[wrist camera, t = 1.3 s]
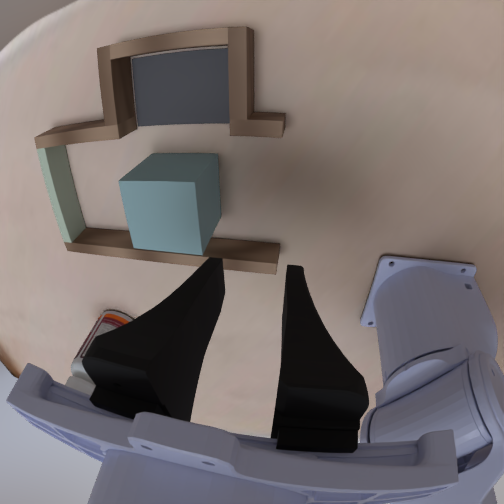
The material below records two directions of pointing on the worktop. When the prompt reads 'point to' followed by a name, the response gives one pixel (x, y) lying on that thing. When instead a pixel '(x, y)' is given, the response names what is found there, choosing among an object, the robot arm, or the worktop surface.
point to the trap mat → (182, 88)
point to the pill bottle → (102, 325)
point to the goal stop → (61, 191)
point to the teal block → (173, 202)
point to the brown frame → (124, 122)
